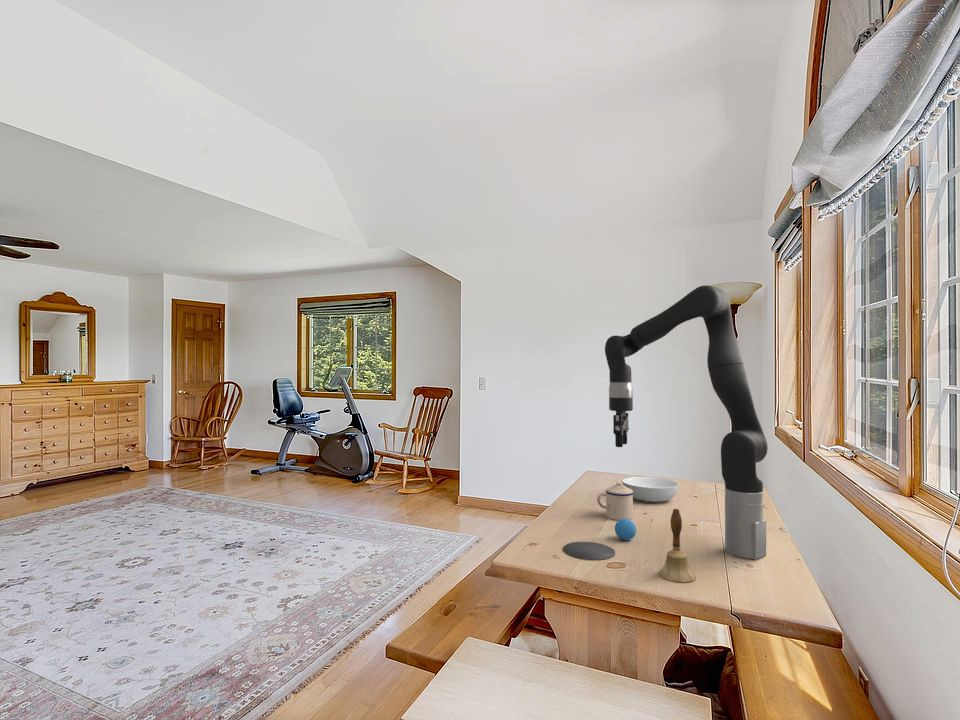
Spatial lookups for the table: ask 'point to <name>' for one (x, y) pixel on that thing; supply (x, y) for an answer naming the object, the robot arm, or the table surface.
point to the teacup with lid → (618, 502)
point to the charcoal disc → (589, 550)
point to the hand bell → (676, 556)
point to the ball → (625, 529)
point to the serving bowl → (651, 488)
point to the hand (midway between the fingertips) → (621, 445)
